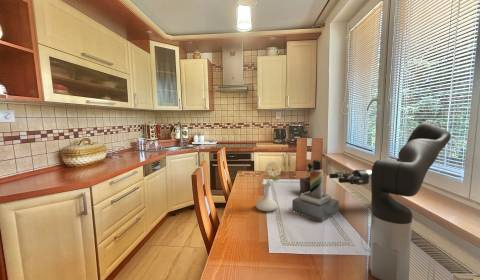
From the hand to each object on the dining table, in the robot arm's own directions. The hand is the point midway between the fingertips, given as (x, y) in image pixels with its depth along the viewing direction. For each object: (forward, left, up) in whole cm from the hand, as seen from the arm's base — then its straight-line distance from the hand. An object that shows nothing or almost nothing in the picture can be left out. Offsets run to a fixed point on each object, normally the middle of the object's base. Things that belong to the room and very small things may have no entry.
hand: (334, 178), depth 104 cm
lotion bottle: (-8, +5, -11) cm, 14 cm away
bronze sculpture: (+16, +23, -17) cm, 33 cm away
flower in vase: (-23, +23, -17) cm, 37 cm away
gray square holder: (-8, +5, -17) cm, 19 cm away
